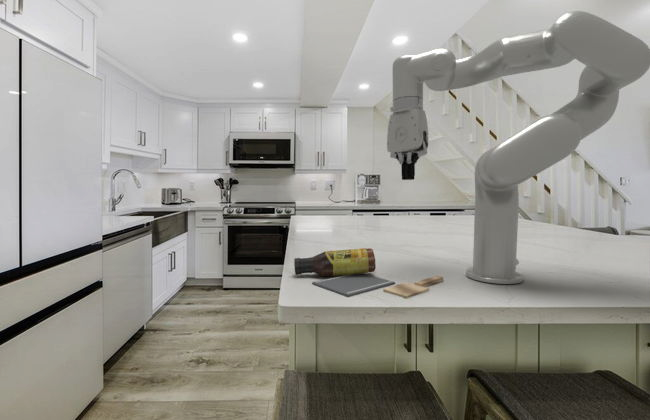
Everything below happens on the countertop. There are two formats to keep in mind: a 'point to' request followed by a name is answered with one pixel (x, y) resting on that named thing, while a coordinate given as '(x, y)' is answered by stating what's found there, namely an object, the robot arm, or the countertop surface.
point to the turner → (413, 287)
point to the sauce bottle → (337, 262)
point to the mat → (353, 284)
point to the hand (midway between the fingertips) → (408, 179)
